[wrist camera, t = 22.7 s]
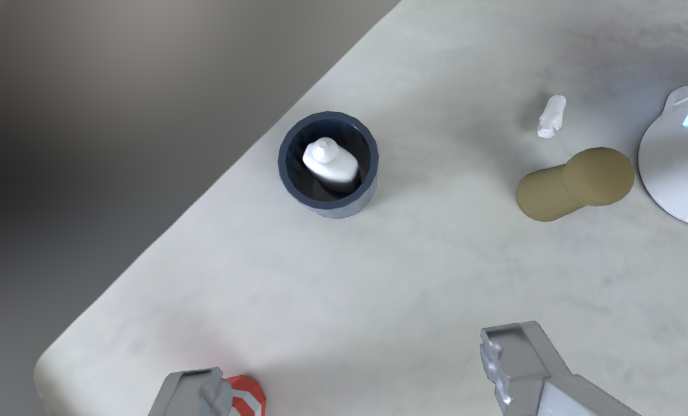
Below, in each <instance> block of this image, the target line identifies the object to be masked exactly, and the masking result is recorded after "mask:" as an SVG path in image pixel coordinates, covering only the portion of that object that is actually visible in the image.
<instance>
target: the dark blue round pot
mask: <svg viewBox="0 0 688 416" xmlns="http://www.w3.org/2000/svg"><path fill="white" fill-rule="evenodd" d="M324 137H326V138H330V139H332V140H334V141H335V142H336V144H337V146H340V147H342V148H343V149H345V150H347V151H348V152H349V153H350V154H351V155H353V156H354V157H355V159H356V160H357V162H358V165H359V171H360V177H361V179H360V182H359V185H358V187H357V190H356V191H355V192H353V193H342V192H337V191H334V190H331V189H329V188H327V187H325V186H324V185H322V184H321V183H320V182H319V181H318V180H317V179H316V178H315V177H314V176H313V174H312V173H311V172H310V170H309V169H308V168H307V166H306V165H305V163H304V161H303V156H304V153H305V151H306V148H307V146H308V145H309V144H311V143H314V142H316V141H317V140H319V139H320V138H324ZM378 165H379V155H378V150H377V145H376V142H375V140H374V138H373V136H372V135H371V133H370V131H369V129H368V128H367V127H366V126H364V125H363V124H362V123H361V122H360V121H359V120H357V119H356V118H354V117H351V116H349V115H347V114H344V113H341V112H330V111H326V112H321V113H316V114H312V115H310V116H308V117H306V118H304V119H303V120H301V121H299V122H298V123H297V124H296V125H295V126H294V127H293V128H292V129H291V130H290V131H289V132H288V134H287V135H286V137H285V139H284V141H283V142H282V144H281V147H280V151H279V157H278V167H279V174H280V178H281V180H282V182H283V184H284V186H285V188H286V190H287V191H288V192H289V193H290V194H291V195H292V196H293V197H294V198H295V199H296V200H297V201H298V202H300V203H301V204H303V205H304V206H305V207H307V208H308V209H309V210H311V211H312V212H314V213H316V214H318V215H320V216H323V217H326V218H333V219H339V218H345V217H349V216H352V215H354V214H356V213H358V212H359V211H361V210H362V209H363V208H364V207H365V206H366V205H367V204H368V203H369V202H370V200H371V199H372V197H373V195H374V193H375V190H376V188H377V179H378Z"/></svg>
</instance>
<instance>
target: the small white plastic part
mask: <svg viewBox="0 0 688 416" xmlns="http://www.w3.org/2000/svg"><path fill="white" fill-rule="evenodd" d="M565 105H566V99H565V97H564V96H562V95H554V96H552V97H551V98H550V99H549V100H548V103H547V105H546V108H545V110H544V112H543V114H542V115H541V117H540V118H539V121H540V124H539V127H538V129H537V130H538V135H539V136H540V137H542V138H550V137H552V136H553V135H554V134H555V133H556V131H557V129H559V130H561V128H562V117H563V111H564V108H565Z"/></svg>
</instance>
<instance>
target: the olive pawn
mask: <svg viewBox="0 0 688 416" xmlns="http://www.w3.org/2000/svg"><path fill="white" fill-rule="evenodd" d="M634 179H635V172H634V168H633V165H632V164H631V162H630V160H629V159H628V158H627V157H626V156H624V155H623V154H622V153H620V152H618V151H616V150H613V149H610V148H604V147H599V148H590V149H586V150H584V151H582V152H579V153H578V154H576V155H575V156H574V157H572V158H571V159H570V160H569V161H568V162H567V164H563V165H559V166H555V167H552V168H548V169H544V170H540V171H536V172H533V173H531V174H528V175H527V176H526V177H524V178H523V179H522V180H521V182H520V183H519V185H518V187H517V193H516V196H517V202H518V204H519V206H520V208H521V210H522V211H523V212H524V213H525V214H526V215H527V216H529V217H531V218H532V219H534V220H538V221H543V222H546V221H553V220H556V219H558V218H560V217H562V216H565V215H567V214H569V213H571V212H573V211H575V210H577V209H579V208H582V207H584V206H586V205H591V206H603V205H609V204H612V203H614V202H617V201H619V200H621V199H622V198H623V197H624V196H626V195H627V194H628V193H629V192H630V190H631V188H632V186H633V184H634Z"/></svg>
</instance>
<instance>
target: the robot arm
mask: <svg viewBox="0 0 688 416" xmlns="http://www.w3.org/2000/svg"><path fill="white" fill-rule="evenodd" d="M638 164H639V170H640V174H641V178H642V180H643V183H644V185H645V187H646V189H647V190H648V192H649V193H650V195H651V196H652V197H653V199H654V200H655V201H656V202H657V203H658V204H659V205H660V206H661V207H662V208H663V209H664V210H666V211H667V212H668V213H670V214H671V215H673V216H674V217H676V218H678V219H680V220H682V221H684V222H686V223H688V86H683V87H680V88H678V89H676V90H673V91H672V92H671V93H670V95H669V96H668V99H667V101H666V104H665V108H664V111H663V112H662V114H661V115H660V116H659V117H658V118H657V119H656V120H655V121H654V122H653V123H652V124H651V125H650V127H649V128H648V129H647V131H646V132H645V134H644V136H643V138H642V141H641V143H640V147H639V153H638ZM480 336H481V339H482V341H483V343H482V344H481V345H480V355H481V360H482V364H483V367H484V370H485V373H486V375H487V377H488V379H489V380H490V381H492V382H493V383H494V384H495V393H494V394H495V397H496V399H497V401H498V404H499V406H500V408H501V411H502V413H503V415H504V416H641V415H640V414H638V413H637V412H635V411H634V410H632V409H631V408H629V407H627V406H626V405H624V404H623V403H621V402H620V401H618V400H617V399H615V398H614V397H612V396H611V395H609V394H608V393H606V392H605V391H603V390H602V389H600V388H599V387H597V386H596V385H594V384H593V383H591V382H590V381H588V380H587V379H585V378H584V377H582V376H581V375H579V374H575V375H573V374H572V373H571V371H570V370H569V368H568V367H567V365H566V364H565V362H564V361H563V359H562V358H561V356H560V355H559V353H558V352H557V350H556V349H555V347H554V346H553V344H552V343H551V341H550V340H549V338H548V337H547V335H546V334H545V332H544V331H543V329H542V328H541V326H540V325H539V324H538V323H537V322H536V321H529V322H523V323H517V324H516V323H513V324H507V325H500V326H494V327H488V328H482V330H481V335H480ZM222 374H223V372H222V371H221V370H220V368H219V367H214V368H206V369H199V370H191V371H182V372H175V373H170V374H169V375H168V376H167V377H166V378H165V380H164V382H163V384H162V386H161V388H160V391H159V393H158V395H157V397H156V399H155V401H154V403H153V406H152V408H151V410H150V412H149V414H148V416H228V415H229V413H230V411H231V407H232V403H233V391H232V387H231V384H230V383H229V381H227V380H225V379H223V378H221V377H222Z"/></svg>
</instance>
